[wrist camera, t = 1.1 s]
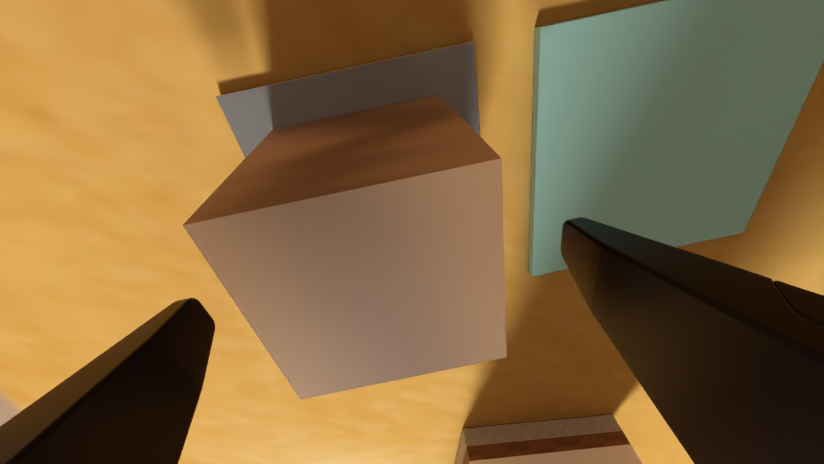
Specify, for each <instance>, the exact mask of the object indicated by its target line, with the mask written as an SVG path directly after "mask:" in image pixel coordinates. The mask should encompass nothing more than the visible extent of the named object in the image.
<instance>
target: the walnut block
mask: <svg viewBox="0 0 824 464" xmlns="http://www.w3.org/2000/svg"><path fill="white" fill-rule="evenodd" d="M183 226H184V228H185V229H186V231H187V232H188V234H189V235H190V237H191V238H192V240H193V241H194V243H195V244H196V246H197V247H198V249H199V250H200V252H201V253H202V254H203V256H204V257H205V259H206V260H207V262H208V263H209V265H210V266H211V268H212V269H213V271H214V272H215V274H216V275H217V277H218V278H219V280H220V281H221V283H222V284H223V286H224V287H225V289H226V290H227V291H228V293H229V294H230V296H231V297H232V299H233V300H234V302H235V303H236V305H237V306H238V308H239V309H240V311H241V312H242V314H243V315H244V317H245V318H246V320H247V321H248V323H249V324H250V325H251V327H252V328H253V330H254V331H255V333H256V334H257V336H258V337H259V339H260V340H261V342H262V343H263V345H264V346H265V348H266V349H267V351H268V352H269V354H270V355H271V357H272V358H273V360H274V361H275V362H276V364H277V365H278V367H279V368H280V370H281V371H282V373H283V374H284V376H285V377H286V379H287V380H288V382H289V383H290V385H291V386H292V388H293V389H294V391H295V392H296V394H297V395H298V397H299V398H300V399H306V398H311V397H315V396H320V395H325V394H330V393H335V392H340V391H345V390H350V389H355V388H359V387H364V386H369V385H374V384H379V383H384V382H389V381H394V380H399V379H403V378H408V377H413V376H418V375H423V374H428V373H433V372H438V371H443V370H447V369H452V368H457V367H462V366H467V365H472V364H477V363H482V362H487V361H492V360H496V359H501V358H506V357H507V353H506V317H505V280H504V243H503V206H502V169H501V158H500V157H499V156H498V155H497V154H496V152H495V151H494V150H493V149H492V148H491V147H490V146H489V145H488V144H487V143H486V142H485V141H484V140H483V139H482V138H481V137H480V136H479V135H478V134H477V133H476V132H475V131H474V130H473V129H472V128H471V127H470V125H469V124H468V123H467V122H466V121H465V120H464V119H463V118H462V117H461V116H460V115H459V114H458V113H457V112H456V111H455V110H454V109H453V108H452V107H451V106H450V105H449V104H448V103H447V102H446V101H445V100H444V98H443V97H442V96H441V95H440V94H436V95H431V96H427V97H422V98H417V99H413V100H408V101H403V102H398V103H394V104H389V105H384V106H380V107H375V108H370V109H365V110H361V111H356V112H351V113H347V114H342V115H337V116H332V117H328V118H323V119H318V120H314V121H309V122H304V123H299V124H295V125H290V126H285V127H281V128H276V129H272V131H271V132H270V133H269V134H268V135H267V136H266V137H265V138H264V139H263V140H262V141H261V142H260V143H259V144H258V145H257V147H256V148H255V149H254V150H253V151H252V152H251V153H250V154H249V155H248V156H247V157H246V158H245V159H244V160H243V161H242V163H241V164H240V165H239V166H238V167H237V168H236V169H235V170H234V171H233V172H232V173H231V174H230V175H229V176H228V177H227V179H226V180H225V181H224V182H223V183H222V184H221V185H220V186H219V187H218V188H217V189H216V190H215V191H214V192H213V193H212V195H211V196H210V197H209V198H208V199H207V200H206V201H205V202H204V203H203V204H202V205H201V206H200V207H199V208H198V210H197V211H196V212H195V213H194V214H193V215H192V216H191V217H190V218H189V219H188V220H187V221H186V222H185V223H184V224H183Z"/></svg>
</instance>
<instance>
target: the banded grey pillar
mask: <svg viewBox="0 0 824 464" xmlns="http://www.w3.org/2000/svg"><path fill="white" fill-rule="evenodd" d="M455 464H642V462H641V460H640V459H639V457H638V456H637V454H636V452H635V451H634V449H633V447H632V446H631V444H630V443H629V441H628V439H627V438H626V436H625V434H624V433H623V431H622V430H621V428H620V426H619V425H618V423H617V421H616V420H615V418H614V417H613V415H601V416H590V417H580V418H569V419H558V420H548V421H537V422H526V423H516V424H505V425H494V426H484V427H473V428H463V429H462V433H461V437H460V442H459V446H458V451H457V455H456V460H455Z"/></svg>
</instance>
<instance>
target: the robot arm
mask: <svg viewBox="0 0 824 464" xmlns="http://www.w3.org/2000/svg"><path fill="white" fill-rule="evenodd" d="M560 249H561V254H562V257H563V259H564V261H565V263H566V265H567V267H568V269H569V271H570V273H571V275H572V276H573V278H574V280H575V282H576V284H577V286H578V288H579V290H580V292H581V294H582V296H583V297H584V299H585V301H586V303H587V305H588V307H589V308H590V310H591V312H592V313H593V315H594V316H595V318H596V319H597V321H598V322H599V324H600V325H601V327H602V328H603V330H604V331H605V333H606V334H607V336H608V337H609V338H610V340H611V341H612V343H613V344H614V346H615V347H616V349H617V350H618V352H619V353H620V355H621V356H622V358H623V359H624V361H625V362H626V363H627V365H628V366H629V368H630V369H631V371H632V372H633V374H634V375H635V377H636V378H637V380H638V381H639V383H640V384H641V386H642V387H643V389H644V390H645V391H646V393H647V394H648V396H649V397H650V399H651V400H652V402H653V403H654V405H655V406H656V408H657V409H658V411H659V412H660V414H661V415H662V416H663V418H664V419H665V421H666V422H667V424H668V425H669V427H670V428H671V430H672V431H673V433H674V434H675V436H676V437H677V439H678V440H679V442H680V443H681V444H682V446H683V447H684V449H685V450H686V452H687V453H688V455H689V456H690V458H691V459H692V461H693V462H694V464H824V296H823V295H820V294H817V293H814V292H810V291H807V290H804V289H801V288H798V287H795V286H792V285H789V284H786V283H783V282H780V281H774V282H773V281H772V279H770V278H767V277H764V276H761V275H758V274H755V273H752V272H749V271H746V270H743V269H740V268H737V267H734V266H731V265H728V264H725V263H722V262H719V261H716V260H713V259H710V258H706V257H703V256H700V255H697V254H694V253H691V252H688V251H685V250H682V249H679V248H676V247H673V246H670V245H667V244H664V243H661V242H658V241H655V240H652V239H649V238H645V237H642V236H639V235H636V234H633V233H630V232H627V231H624V230H621V229H618V228H615V227H612V226H609V225H606V224H603V223H600V222H597V221H594V220H591V219H588V218H585V217H578V218H573V219H568V220H566V221H565V222H564V223H563V226H562V236H561V248H560ZM214 332H215V323H214V320H213V319H212V317H211V316H210V315H209V313H208V312H207V311H206V309H205V308H204V307H203V306H202V304H201V303H200V302H199V301H198V300H197V299H195V298H188V299H183V300H179V301H176V302H174V303H172V304H171V305H169V306H168V307H167V308H165V309H164V310H162V311H161V312H160V313H158V314H157V315H155V316H154V317H153V318H151V319H150V320H148V321H147V322H146V323H144V324H143V325H141V326H140V327H139V328H137V329H136V330H135V331H133V332H132V333H130V334H129V335H128V336H126V337H125V338H123V339H122V340H121V341H119V342H118V343H116V344H115V345H114V346H112V347H111V348H109V349H108V350H107V351H105V352H104V353H102V354H101V355H100V356H98V357H97V358H95V359H94V360H93V361H91V362H90V363H88V364H87V365H86V366H84V367H83V368H81V369H80V370H79V371H77V372H76V373H74V374H73V375H72V376H70V377H69V378H67V379H66V380H65V381H63V382H62V383H60V384H59V385H58V386H56V387H55V388H53V389H52V390H51V391H49V392H48V393H46V394H45V395H44V396H42V397H41V398H39V399H38V400H37V401H35V402H34V403H32V404H31V405H30V406H28V407H27V408H25V409H24V410H23V411H21V412H20V413H18V414H17V415H16V416H14V417H13V418H11V419H10V420H9V421H7V422H6V423H5V424H3V425H2V426H0V464H178V462H179V459H180V456H181V453H182V450H183V447H184V444H185V440H186V437H187V434H188V431H189V428H190V425H191V422H192V419H193V416H194V413H195V410H196V407H197V403H198V400H199V397H200V394H201V390H202V386H203V382H204V378H205V373H206V369H207V364H208V360H209V355H210V350H211V346H212V341H213V336H214Z"/></svg>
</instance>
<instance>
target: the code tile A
mask: <svg viewBox="0 0 824 464" xmlns="http://www.w3.org/2000/svg"><path fill="white" fill-rule="evenodd" d="M436 94H440V95H441V96H442V97H443V98H444V100H445V101H446V102H447V103H448V104H449V105H450V106H451V107H452V108H453V109H454V110H455V111H456V112H457V113H458V114H459V115H460V116H461V117H462V118H463V119H464V120H465V121H466V122H467V123H468V124H469V125H470V127H471V128H472V129H473V130H474V131H475V132H476V133H477V134H478V135H479V136H480V128H479V112H478V96H477V80H476V64H475V48H474V41H470V42H465V43H461V44H456V45H451V46H447V47H442V48H437V49H432V50H428V51H423V52H418V53H414V54H409V55H404V56H400V57H395V58H390V59H386V60H381V61H376V62H372V63H367V64H362V65H357V66H353V67H348V68H343V69H339V70H334V71H329V72H325V73H320V74H315V75H311V76H306V77H301V78H297V79H292V80H287V81H283V82H278V83H273V84H268V85H264V86H259V87H254V88H250V89H245V90H240V91H236V92H231V93H226V94H222V95H219V96H216V98H217V100H218V102H219V104H220V106H221V108H222V110H223V112H224V114H225V116H226V118H227V120H228V123H229V125H230V127H231V129H232V131H233V133H234V135H235V137H236V139H237V141H238V143H239V145H240V147H241V149H242V152H243V154H244V156H245V158H246V157H247V156H248V155H249V154H250V153H251V152H252V151H253V150H254V149H255V148H256V147H257V145H258V144H259V143H260V142H261V141H262V140H263V139H264V138H265V137H266V136H267V135H268V134H269V133H270V132H271V131H272V129H276V128H281V127H285V126H290V125H295V124H299V123H304V122H309V121H314V120H318V119H323V118H328V117H332V116H337V115H342V114H347V113H351V112H356V111H361V110H365V109H370V108H375V107H380V106H384V105H389V104H394V103H398V102H403V101H408V100H413V99H417V98H422V97H427V96H431V95H436Z"/></svg>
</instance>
